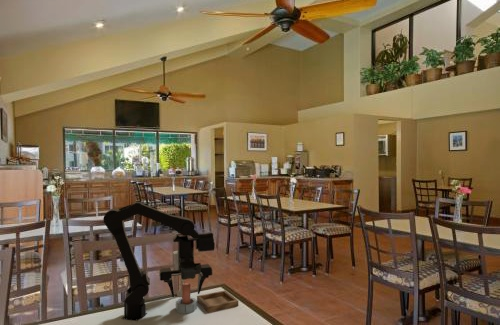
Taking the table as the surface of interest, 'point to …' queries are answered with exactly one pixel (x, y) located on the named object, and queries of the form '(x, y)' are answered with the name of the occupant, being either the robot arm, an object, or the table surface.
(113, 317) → the table surface
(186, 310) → the grey hex nut
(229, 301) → the tray
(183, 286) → the dowel
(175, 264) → the chalice
